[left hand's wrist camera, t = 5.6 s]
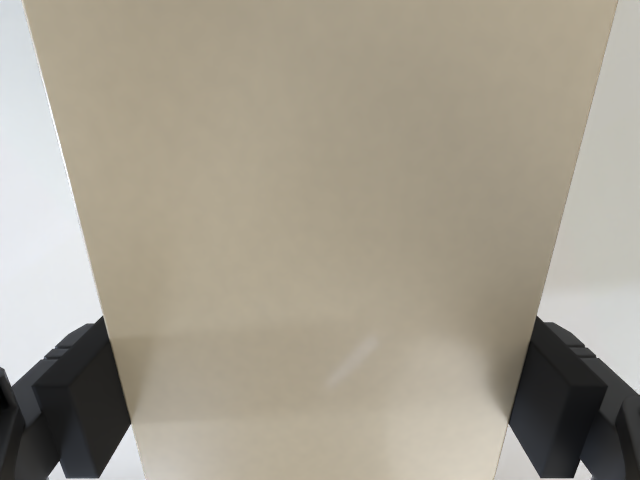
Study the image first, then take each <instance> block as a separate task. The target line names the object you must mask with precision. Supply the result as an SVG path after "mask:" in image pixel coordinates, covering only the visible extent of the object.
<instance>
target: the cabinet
mask: <svg viewBox="0 0 640 480" xmlns="http://www.w3.org/2000/svg"><path fill="white" fill-rule="evenodd" d="M21 1H22V5H23V9H24V13H25V16H26V20H27V24H28V28H29V32H30V36H31V39H32V43H33V47H34V51H35V55H36V59H37V63H38V66H39V70H40V74H41V78H42V82H43V86H44V90H45V93H46V97H47V101H48V105H49V109H50V113H51V117H52V120H53V124H54V128H55V132H56V136H57V140H58V144H59V147H60V151H61V155H62V159H63V163H64V167H65V171H66V174H67V178H68V182H69V186H70V190H71V194H72V198H73V201H74V205H75V209H76V213H77V217H78V221H79V224H80V228H81V232H82V236H83V240H84V244H85V248H86V251H87V255H88V259H89V263H90V267H91V271H92V275H93V278H94V282H95V286H96V290H97V294H98V298H99V302H100V305H101V309H102V313H103V317H104V321H105V325H106V329H107V332H108V336H109V340H110V344H111V348H112V352H113V356H114V359H115V363H116V367H117V371H118V375H119V379H120V383H121V386H122V390H123V394H124V398H125V402H126V406H127V409H128V413H129V417H130V421H131V425H132V429H133V433H134V436H135V440H136V444H137V448H138V452H139V456H140V460H141V463H142V467H143V471H144V475H145V479H146V480H494V477H495V473H496V470H497V466H498V462H499V458H500V454H501V450H502V446H503V443H504V439H505V435H506V431H507V427H508V423H509V419H510V416H511V412H512V408H513V404H514V400H515V396H516V392H517V389H518V385H519V381H520V377H521V373H522V369H523V366H524V362H525V358H526V354H527V350H528V346H529V342H530V339H531V335H532V331H533V327H534V323H535V319H536V315H537V312H538V308H539V304H540V300H541V296H542V292H543V288H544V285H545V281H546V277H547V273H548V269H549V265H550V261H551V258H552V254H553V250H554V246H555V242H556V238H557V235H558V231H559V227H560V223H561V219H562V215H563V211H564V208H565V204H566V200H567V196H568V192H569V188H570V184H571V181H572V177H573V173H574V169H575V165H576V161H577V157H578V154H579V150H580V146H581V142H582V138H583V134H584V130H585V127H586V123H587V119H588V115H589V111H590V107H591V104H592V100H593V96H594V92H595V88H596V84H597V80H598V77H599V73H600V69H601V65H602V61H603V57H604V53H605V50H606V46H607V42H608V38H609V34H610V30H611V26H612V23H613V19H614V15H615V11H616V7H617V3H618V0H21Z"/></svg>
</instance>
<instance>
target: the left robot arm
mask: <svg viewBox="0 0 640 480" xmlns="http://www.w3.org/2000/svg"><path fill="white" fill-rule="evenodd" d="M130 424H131V421H130V417H129V413H128V409H127V406H126V402H125V398H124V394H123V390H122V386H121V383H120V379H119V375H118V371H117V367H116V363H115V359H114V356H113V352H112V348H111V344H110V340H109V336H108V332H107V329H106V325H105V321H104V317H103V316H102V317H101V318H100V319H99V320H98V321H97V322H96V323H95V324H85V325H84V326H82V327H80V328H78V329H77V330H75V331H73V332H71V333H70V334H68V335H67V336H66V337H65V338H64V339H63V340H62V341H61V342H60V343H58V344H57V345H56V346H55V349H52V350H51V351H50V352H49V353H48V354H47V355H45V356H44V359H43V360H40V361H39V362H38V363H37V364H36V365H35V366H34V367H32V368H31V369H30V370H29V371H28V372H27V373H26V374H25V375H24V376H23V377H22V378H21V379H19V380H18V381H17V382H16V383H15V384H14V385H13V386H12V387H11V385H10V382H9V380H8V377H7V375H6V372H5V370H4V369H3V368H1V367H0V480H49V478H48V476H49V474H50V473H51V472H52V470H53V469H54V467H55V466H56V465H57V463H58V462H59V461H60V464H61V466H62V469H63V471H64V474H65V477H66V478H99V477H100V476H101V474H102V472H103V470H104V469H105V467H106V465H107V464H108V462H109V460H110V459H111V457H112V455H113V453H114V452H115V450H116V448H117V447H118V445H119V443H120V442H121V440H122V438H123V436H124V435H125V433H126V431H127V430H128V428H129V426H130ZM509 425H510V427H511V428H512V430H513V432H514V434H515V435H516V437H517V439H518V440H519V442H520V444H521V446H522V447H523V449H524V451H525V452H526V454H527V456H528V457H529V459H530V461H531V463H532V464H533V466H534V468H535V469H536V471H537V473H538V475H539V476H540V478H574V475H575V473H576V470H577V467H578V465H579V462H580V460H582V462H583V463H584V465H585V466H586V467H587V469H588V470H589V471H590V473H591V474H592V478H591V480H640V395H638V394H637V393H636V392H635V391H634V390H633V389H632V388H631V387H630V386H629V385H628V384H626V383H625V382H624V381H623V380H622V379H621V378H620V377H619V376H618V375H617V374H616V373H615V372H613V371H612V370H611V369H610V368H609V367H608V366H607V365H606V364H605V363H604V362H603V361H601V360H600V359H599V358H596V355H595V354H594V353H593V352H592V351H591V350H589V349H588V348H585V345H584V344H583V343H582V342H581V341H580V340H579V339H577V338H576V337H575V336H574V335H573V334H572V333H571V332H569V331H567V330H565V329H564V328H562V327H560V326H558V325H557V324H555V323H553V322H543V321H542V320H541V319H540V318H539V317H538V316H537V315H536V319H535V323H534V327H533V331H532V335H531V339H530V342H529V346H528V350H527V354H526V358H525V362H524V366H523V369H522V373H521V377H520V381H519V385H518V389H517V392H516V396H515V400H514V404H513V408H512V412H511V416H510V419H509Z"/></svg>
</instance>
